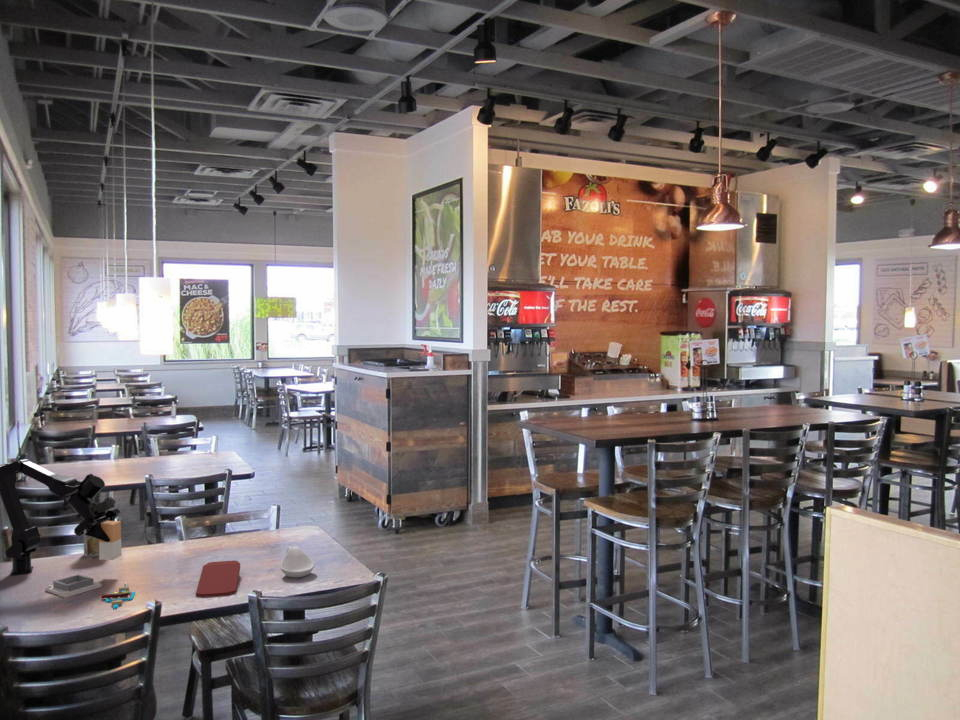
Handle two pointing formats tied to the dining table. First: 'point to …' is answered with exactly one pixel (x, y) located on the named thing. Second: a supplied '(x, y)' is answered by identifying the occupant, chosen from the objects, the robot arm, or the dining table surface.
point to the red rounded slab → (218, 579)
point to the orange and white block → (112, 547)
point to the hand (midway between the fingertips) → (113, 539)
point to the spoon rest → (296, 563)
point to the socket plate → (72, 585)
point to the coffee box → (91, 545)
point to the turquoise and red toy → (122, 594)
